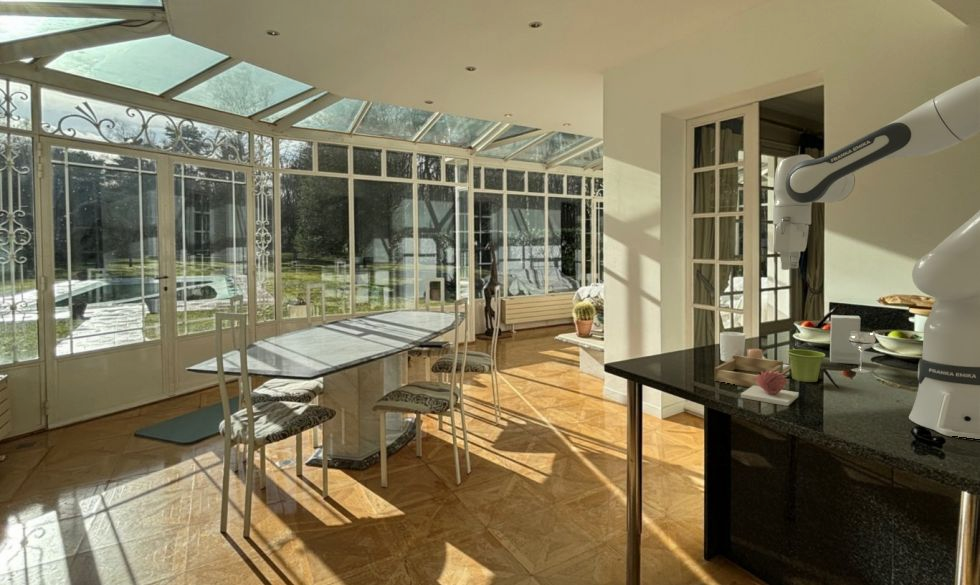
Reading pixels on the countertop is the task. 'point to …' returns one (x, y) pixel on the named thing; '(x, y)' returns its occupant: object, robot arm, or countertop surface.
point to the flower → (771, 381)
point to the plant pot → (805, 364)
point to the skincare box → (843, 339)
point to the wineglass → (861, 344)
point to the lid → (786, 367)
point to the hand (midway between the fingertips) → (789, 269)
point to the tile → (770, 396)
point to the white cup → (731, 345)
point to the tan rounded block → (754, 353)
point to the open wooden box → (745, 363)
